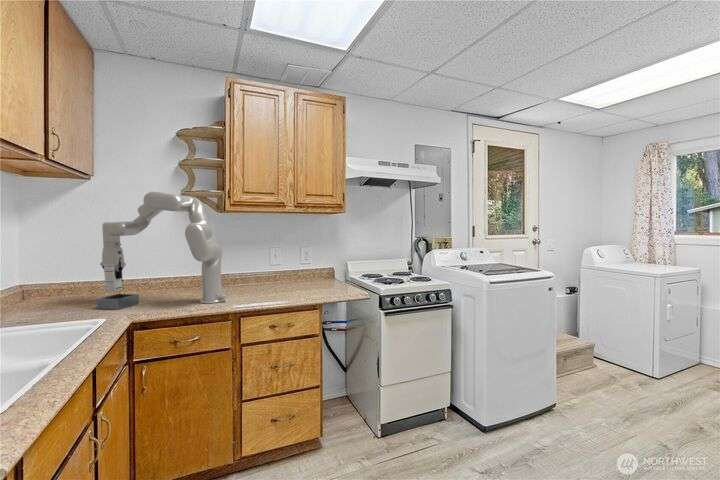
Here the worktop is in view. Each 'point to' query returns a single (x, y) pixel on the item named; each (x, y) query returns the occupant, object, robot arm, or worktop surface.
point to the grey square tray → (117, 301)
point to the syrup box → (112, 278)
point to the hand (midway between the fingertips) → (113, 277)
